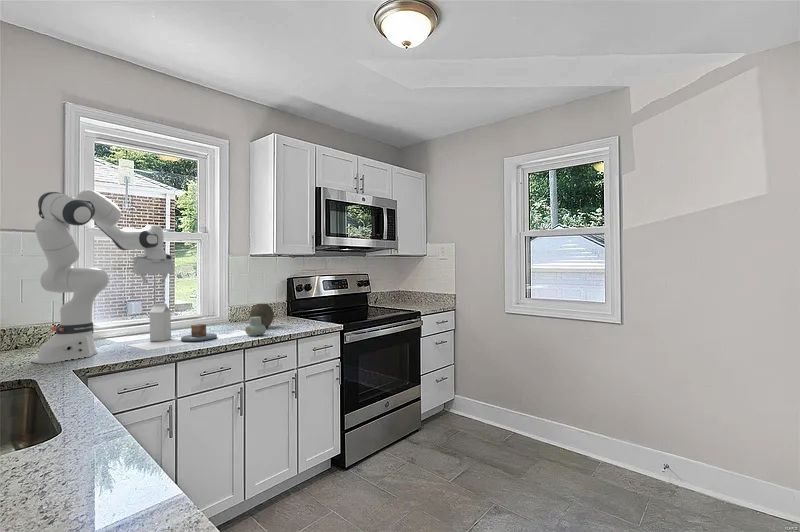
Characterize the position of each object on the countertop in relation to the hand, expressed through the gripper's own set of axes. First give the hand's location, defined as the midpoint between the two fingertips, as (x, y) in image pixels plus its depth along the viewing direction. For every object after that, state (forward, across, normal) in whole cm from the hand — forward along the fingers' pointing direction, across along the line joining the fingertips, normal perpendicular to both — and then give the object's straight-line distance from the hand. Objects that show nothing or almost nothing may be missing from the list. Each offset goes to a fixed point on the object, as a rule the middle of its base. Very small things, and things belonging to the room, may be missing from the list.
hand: (154, 282), depth 221 cm
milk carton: (+30, +3, 0) cm, 31 cm away
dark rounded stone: (+30, +52, -23) cm, 64 cm away
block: (+29, +12, -18) cm, 36 cm away
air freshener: (+30, +33, -38) cm, 58 cm away
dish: (+30, +12, -18) cm, 37 cm away
